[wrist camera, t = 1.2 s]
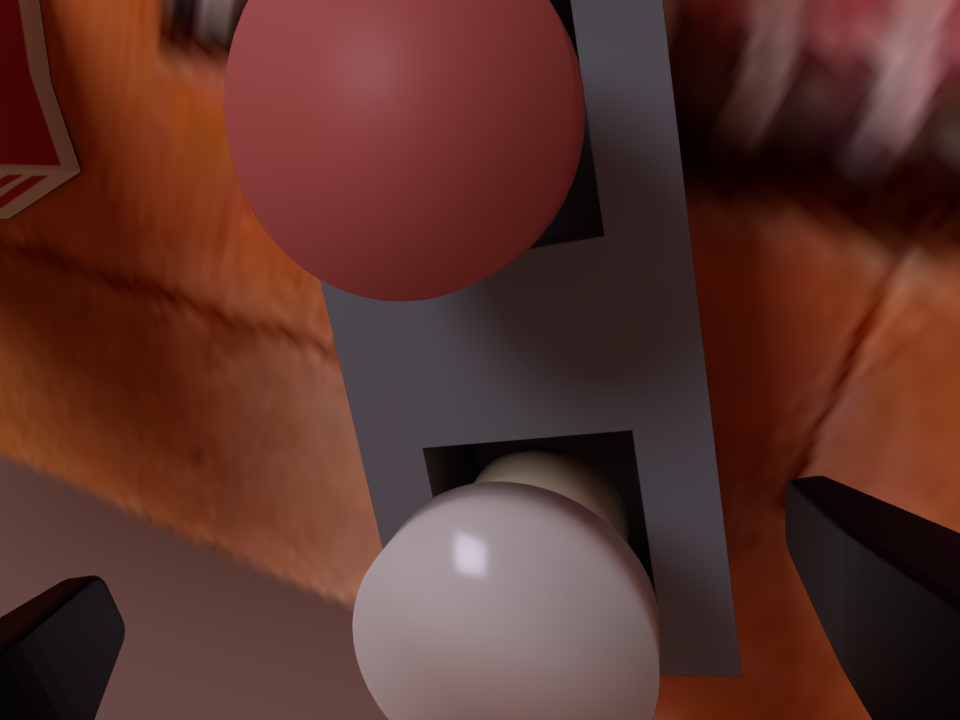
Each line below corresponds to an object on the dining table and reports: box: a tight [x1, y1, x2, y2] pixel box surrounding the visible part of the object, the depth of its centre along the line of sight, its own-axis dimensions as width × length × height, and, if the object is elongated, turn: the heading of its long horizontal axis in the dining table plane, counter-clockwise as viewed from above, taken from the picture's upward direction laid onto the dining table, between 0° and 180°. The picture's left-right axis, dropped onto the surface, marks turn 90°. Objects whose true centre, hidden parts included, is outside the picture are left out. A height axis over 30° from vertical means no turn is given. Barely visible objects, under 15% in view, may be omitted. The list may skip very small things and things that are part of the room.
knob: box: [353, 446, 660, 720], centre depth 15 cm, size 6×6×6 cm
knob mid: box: [224, 0, 585, 302], centre depth 13 cm, size 6×6×6 cm
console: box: [320, 0, 742, 677], centre depth 17 cm, size 28×9×5 cm, turn 11°
